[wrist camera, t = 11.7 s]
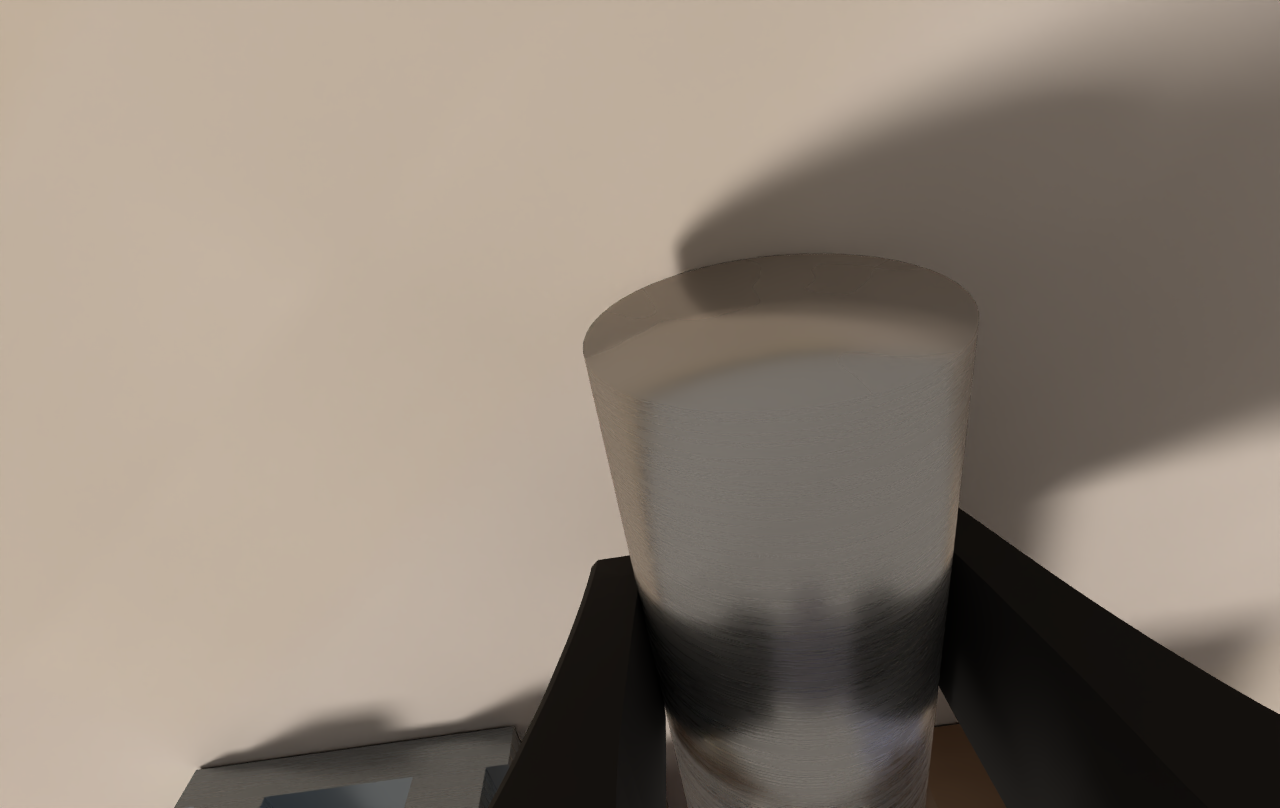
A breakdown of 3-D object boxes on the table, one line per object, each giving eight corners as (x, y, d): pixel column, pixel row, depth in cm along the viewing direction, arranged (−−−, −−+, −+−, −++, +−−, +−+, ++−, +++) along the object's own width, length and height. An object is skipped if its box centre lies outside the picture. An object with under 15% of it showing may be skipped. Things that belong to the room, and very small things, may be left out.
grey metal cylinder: (593, 283, 9) (564, 442, 5) (889, 235, 8) (1077, 368, 5) (685, 726, 13) (704, 963, 10) (874, 705, 13) (961, 943, 10)
